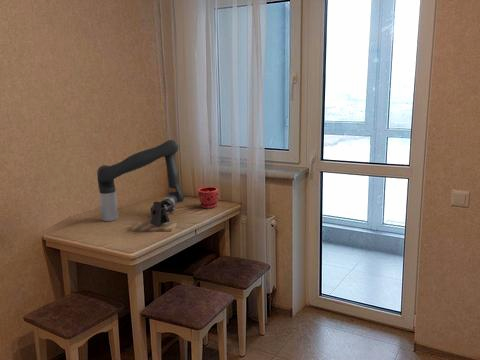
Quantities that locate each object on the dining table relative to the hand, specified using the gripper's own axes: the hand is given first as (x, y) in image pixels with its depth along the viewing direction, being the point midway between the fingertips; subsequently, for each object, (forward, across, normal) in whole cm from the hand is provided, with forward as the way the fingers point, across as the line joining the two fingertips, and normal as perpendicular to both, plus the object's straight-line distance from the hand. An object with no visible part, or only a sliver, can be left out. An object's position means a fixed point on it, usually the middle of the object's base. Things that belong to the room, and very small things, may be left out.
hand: (157, 212), depth 232 cm
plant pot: (-47, +18, +10) cm, 52 cm away
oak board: (-2, -4, +10) cm, 11 cm away
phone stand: (-2, 0, +7) cm, 7 cm away
